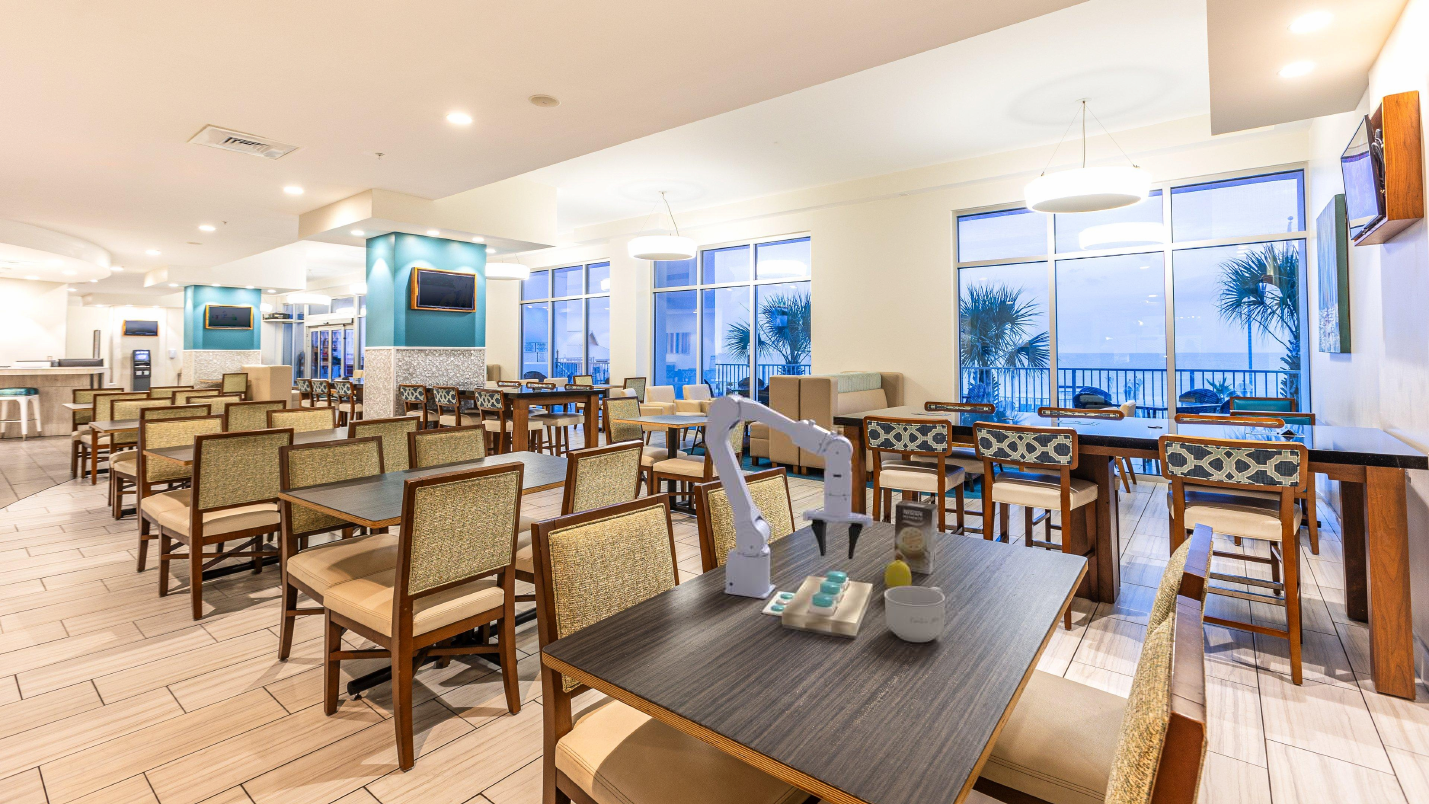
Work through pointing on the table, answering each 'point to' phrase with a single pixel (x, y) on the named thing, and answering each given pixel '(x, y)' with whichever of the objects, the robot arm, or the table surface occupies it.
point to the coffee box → (916, 535)
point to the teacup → (915, 612)
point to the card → (778, 603)
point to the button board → (840, 624)
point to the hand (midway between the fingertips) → (836, 556)
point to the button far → (838, 579)
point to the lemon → (897, 575)
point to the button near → (822, 604)
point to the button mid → (832, 590)
